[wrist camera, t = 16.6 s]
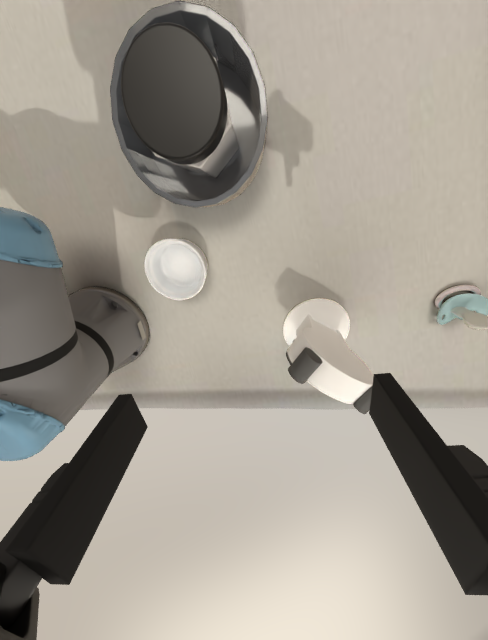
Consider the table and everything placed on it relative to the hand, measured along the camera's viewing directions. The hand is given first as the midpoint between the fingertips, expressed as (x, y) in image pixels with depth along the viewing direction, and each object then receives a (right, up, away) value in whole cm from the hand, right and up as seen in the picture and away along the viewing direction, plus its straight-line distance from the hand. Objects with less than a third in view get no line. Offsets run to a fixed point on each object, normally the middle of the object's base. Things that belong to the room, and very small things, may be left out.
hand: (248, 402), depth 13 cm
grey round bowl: (-5, +28, +16) cm, 32 cm away
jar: (-5, +27, +16) cm, 32 cm away
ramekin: (-10, +14, +24) cm, 29 cm away
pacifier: (+33, +8, +24) cm, 42 cm away
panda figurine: (+12, +3, +28) cm, 30 cm away
